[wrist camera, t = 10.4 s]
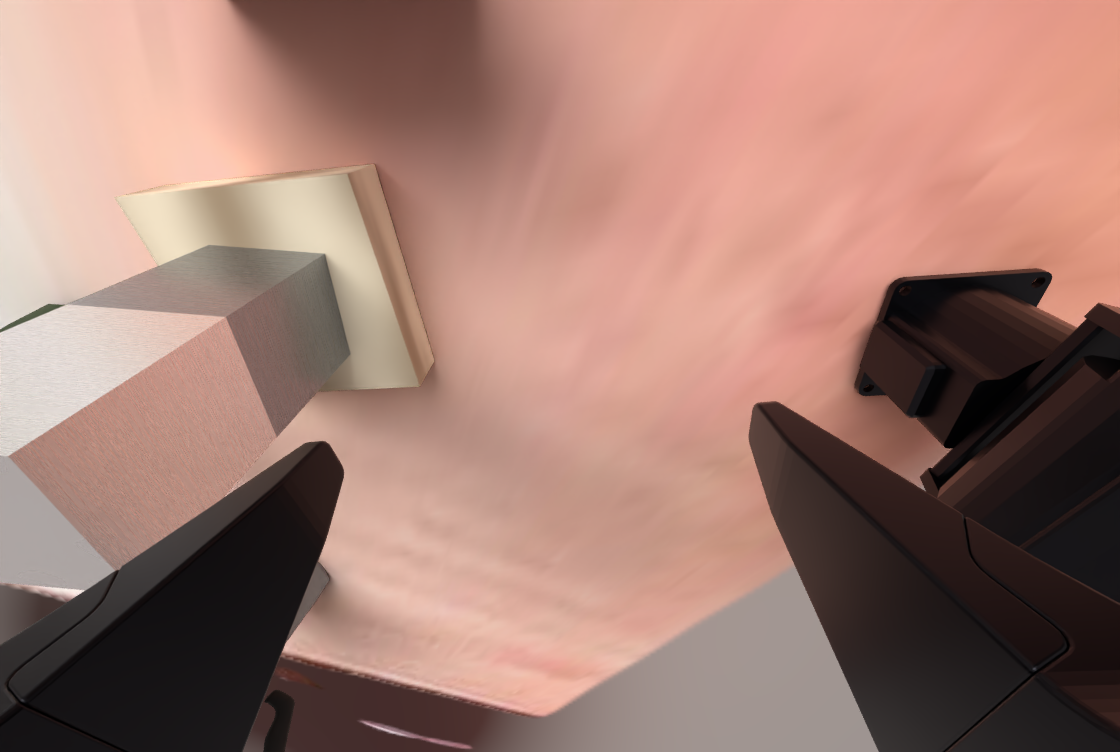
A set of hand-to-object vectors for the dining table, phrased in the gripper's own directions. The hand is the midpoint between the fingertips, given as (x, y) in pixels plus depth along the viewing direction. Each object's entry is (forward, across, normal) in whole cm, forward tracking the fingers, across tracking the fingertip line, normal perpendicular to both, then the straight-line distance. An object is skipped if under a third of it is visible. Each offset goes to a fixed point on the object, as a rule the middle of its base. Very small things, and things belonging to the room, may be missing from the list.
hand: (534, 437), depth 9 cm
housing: (+11, +12, +1) cm, 17 cm away
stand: (+14, +12, +1) cm, 18 cm away
